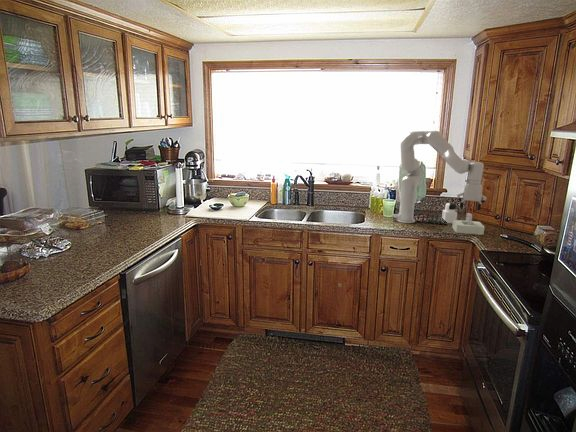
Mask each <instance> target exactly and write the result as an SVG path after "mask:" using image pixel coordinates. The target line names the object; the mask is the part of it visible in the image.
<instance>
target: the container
mask: <svg viewBox="0 0 576 432" xmlns="http://www.w3.org/2000/svg"><path fill="white" fill-rule="evenodd" d="M456 207H457V204H456V203H454V202H453V203H452V202H447V203H445V207H444V209H442V212H441V213H442V214H441V219H442V218H443V219H444V220H445V221H446V222H447V223H446V224H453V220H458V212H457V211H456V210H457V209H456Z"/></svg>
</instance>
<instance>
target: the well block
mask: <svg viewBox="0 0 576 432" xmlns="http://www.w3.org/2000/svg"><path fill="white" fill-rule="evenodd" d="M465 223H466V220H461V219H460V220H459V219H457V220H453V223H452V226H451V227H452V229H453V231H454V232H455V234H465V235H466V234H467V235H477V236H478V235H479V236H483V235H485V229H486V227H485V226H484V224H482V222H480V221H474V220H472V222H471V225H465Z"/></svg>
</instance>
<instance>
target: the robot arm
mask: <svg viewBox="0 0 576 432" xmlns="http://www.w3.org/2000/svg"><path fill="white" fill-rule="evenodd" d="M417 145H428V146H430V147H431V148H432V149H433V150H434V151H435V152H437V153H438V155H440V157H441V158H442V159H443V160H444V161H445V163H447V165H448V167H450V168H451V169H452V170H453V171H454V172H455V173H457V174H459V175H460V174H461V175H462V174H465V173H468V178H467V179H465V181H464V182H465V185H464V189H463V192H461V193H458V194H457V195H456V198H457V199H458V201H459V202H460V204H459V208H460V209H461V210H463V209H464V202H465V201H467V202H468V201H469V202H478V203H477V206H476V210H477V211H480V209H481V208H482V207H481V206H482V204H484V203H485V201H486V200H487V199H488V197H487V196H485V195H483V185H482V178H483V173H484V166H485V164H484V163H483V162H480V161H471V160H465V159H462V158H461V157H460V156H459V155H458V154H457V153H456V152H455V150H454V147H453V146H452V144H451V143H449V141H448V140H446V139H445V138H444V137H443V133H441V132H440V131H438V130H431V131H430V130H429V131H428V130H425V131H412V132H408V133H406V135H405V136H403V138H402V139H401V142H400V157H401V158H400V163H401V165H400V166H401V170H402V172H403V173H405V176H404V177H402V179H401V182H400V199H399V200H400V201H399V210H398V211H399V212H398V213H397V214H395V213H392V214H391V218H395V220H396V222H399V223H403V224H404V223H405V224H412V223H415V222H416V219H414V213H415V205H416V203H415V202H416V193H417V192H416V187H418V186H419V185H420V184H421V167H420V162H419V159H417V158H415V149H414V146H417ZM461 197H462V198H461ZM482 198H483V199H482Z"/></svg>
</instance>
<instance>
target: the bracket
mask: <svg viewBox="0 0 576 432" xmlns="http://www.w3.org/2000/svg"><path fill="white" fill-rule="evenodd" d="M465 221H466V223H465V225H471V222H472V221H473V214H472V213H469V212H466V217H465Z"/></svg>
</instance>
